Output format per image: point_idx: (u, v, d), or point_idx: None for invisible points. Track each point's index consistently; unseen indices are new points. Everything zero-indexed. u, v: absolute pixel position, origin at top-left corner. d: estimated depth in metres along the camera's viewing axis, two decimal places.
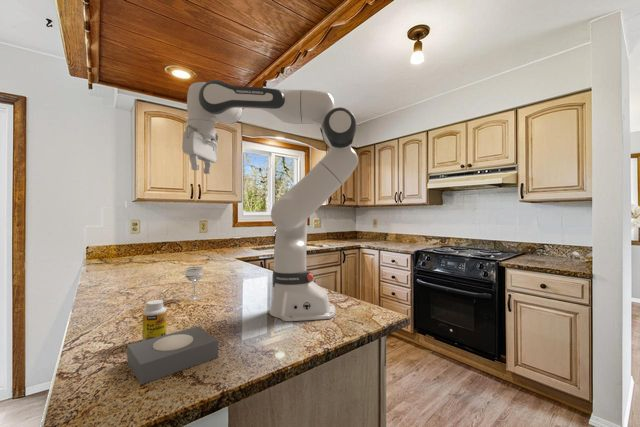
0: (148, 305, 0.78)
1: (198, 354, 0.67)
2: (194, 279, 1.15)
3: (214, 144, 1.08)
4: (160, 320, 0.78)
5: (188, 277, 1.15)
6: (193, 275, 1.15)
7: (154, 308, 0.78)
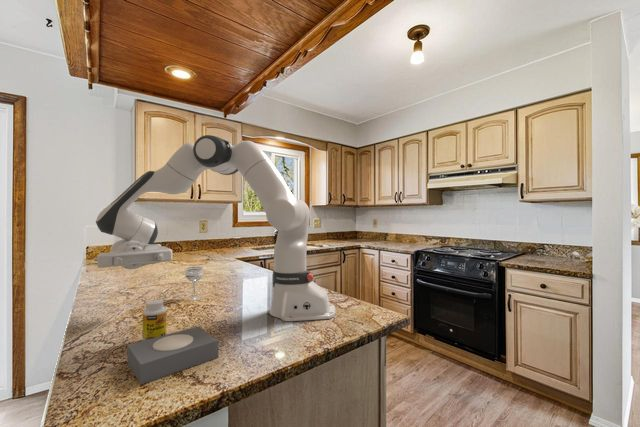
0: (148, 305, 0.78)
1: (198, 354, 0.67)
2: (194, 279, 1.15)
3: (154, 247, 1.00)
4: (160, 320, 0.78)
5: (188, 277, 1.15)
6: (193, 275, 1.15)
7: (154, 308, 0.78)
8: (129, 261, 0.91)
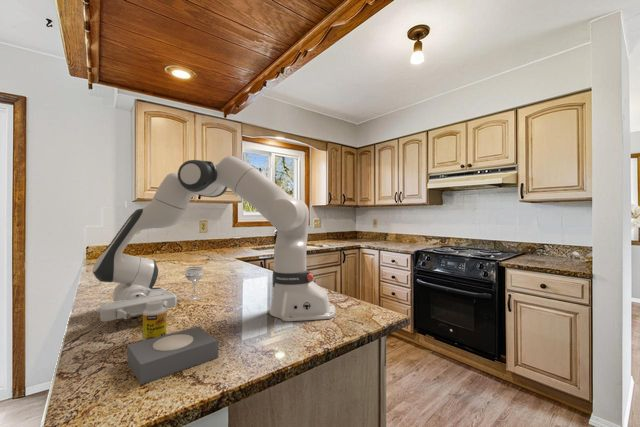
0: (148, 305, 0.78)
1: (198, 354, 0.67)
2: (194, 279, 1.15)
3: (158, 292, 0.98)
4: (160, 320, 0.78)
5: (188, 277, 1.15)
6: (193, 275, 1.15)
7: (154, 308, 0.78)
8: (133, 311, 0.88)
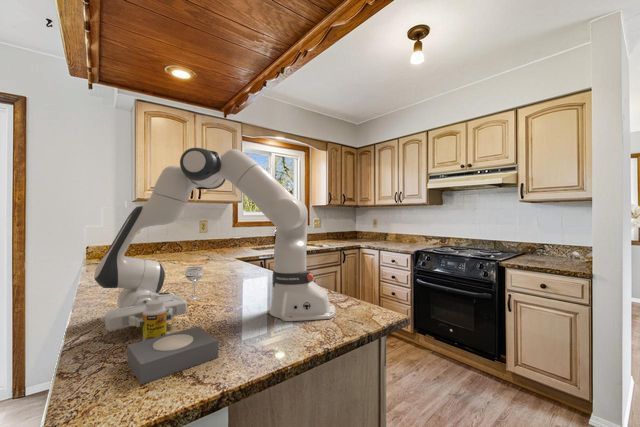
0: (148, 305, 0.78)
1: (198, 354, 0.67)
2: (194, 279, 1.15)
3: (167, 298, 0.91)
4: (160, 320, 0.78)
5: (188, 277, 1.15)
6: (193, 275, 1.15)
7: (154, 308, 0.78)
8: None
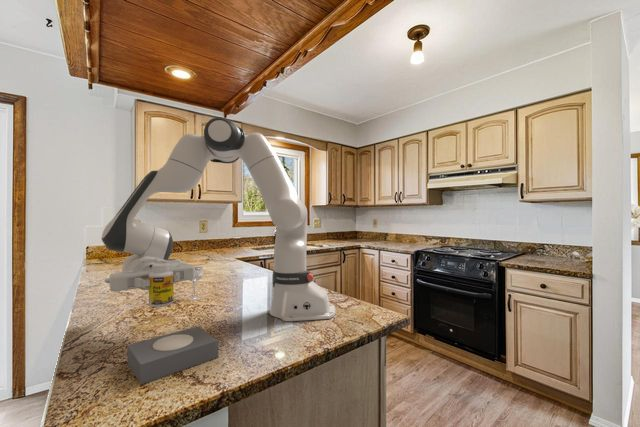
0: (154, 267, 0.74)
1: (198, 354, 0.67)
2: (194, 279, 1.15)
3: (173, 263, 0.87)
4: (167, 283, 0.74)
5: None
6: None
7: (160, 270, 0.74)
8: None
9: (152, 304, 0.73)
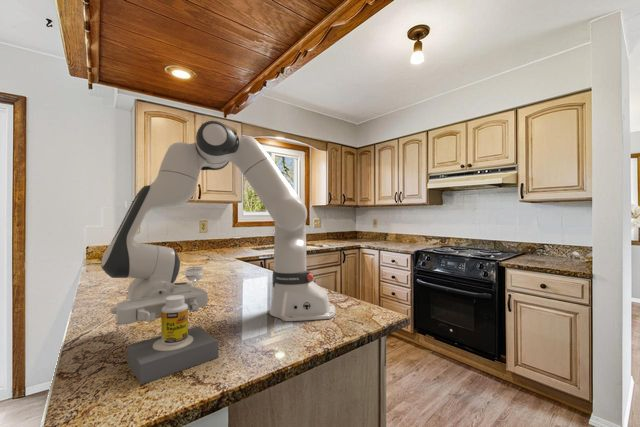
0: (168, 301, 0.67)
1: (198, 354, 0.67)
2: (194, 279, 1.15)
3: (184, 288, 0.80)
4: (181, 318, 0.68)
5: (188, 277, 1.15)
6: (193, 275, 1.15)
7: (175, 304, 0.67)
8: (156, 312, 0.70)
9: (165, 342, 0.66)
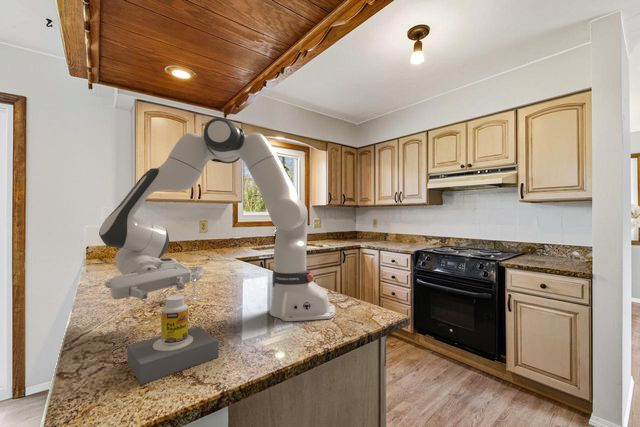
0: (168, 301, 0.67)
1: (198, 354, 0.67)
2: (194, 279, 1.15)
3: (170, 265, 0.90)
4: (182, 319, 0.68)
5: None
6: (193, 275, 1.15)
7: (175, 304, 0.67)
8: (146, 288, 0.81)
9: (165, 342, 0.66)
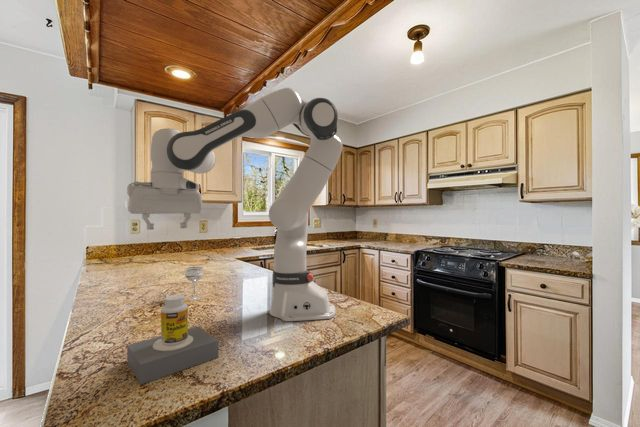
0: (167, 301, 0.67)
1: (198, 354, 0.67)
2: (194, 279, 1.15)
3: (190, 193, 0.93)
4: (181, 318, 0.68)
5: (188, 277, 1.15)
6: (193, 275, 1.15)
7: (174, 304, 0.67)
8: None
9: (165, 342, 0.66)
